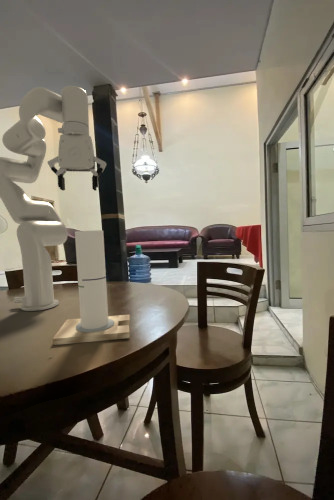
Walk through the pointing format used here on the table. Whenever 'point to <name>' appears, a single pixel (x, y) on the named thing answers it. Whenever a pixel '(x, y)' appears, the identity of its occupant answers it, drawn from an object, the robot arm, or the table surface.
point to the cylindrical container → (91, 278)
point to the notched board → (93, 331)
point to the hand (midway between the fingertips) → (78, 189)
